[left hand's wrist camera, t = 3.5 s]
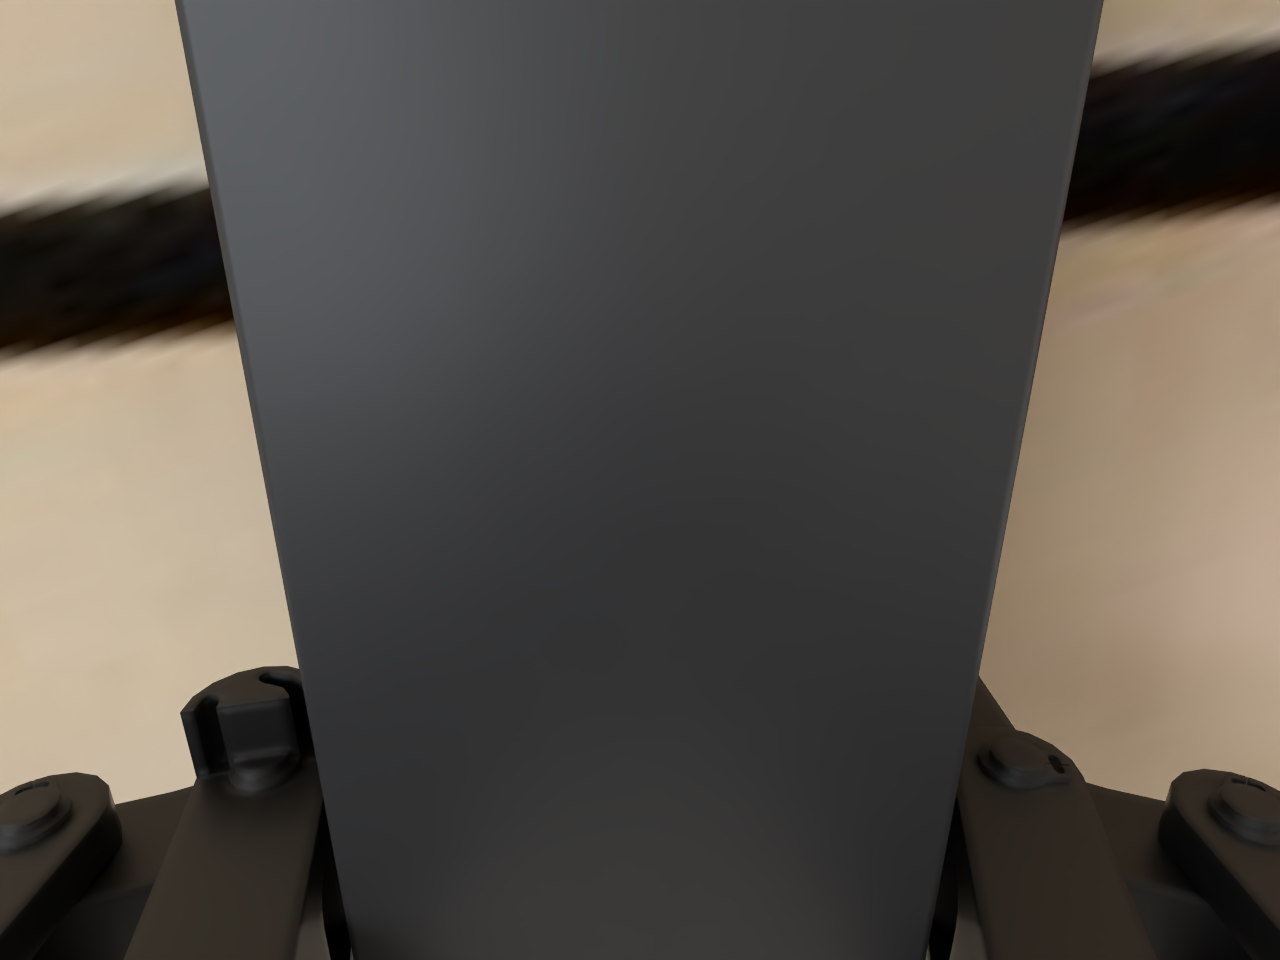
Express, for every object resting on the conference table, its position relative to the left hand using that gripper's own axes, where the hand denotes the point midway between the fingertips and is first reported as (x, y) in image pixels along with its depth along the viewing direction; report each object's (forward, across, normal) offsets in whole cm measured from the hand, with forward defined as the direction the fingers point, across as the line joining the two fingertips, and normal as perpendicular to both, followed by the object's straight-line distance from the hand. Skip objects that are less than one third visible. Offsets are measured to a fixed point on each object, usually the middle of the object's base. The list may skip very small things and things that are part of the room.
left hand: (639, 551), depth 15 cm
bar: (+1, 0, -13) cm, 13 cm away
